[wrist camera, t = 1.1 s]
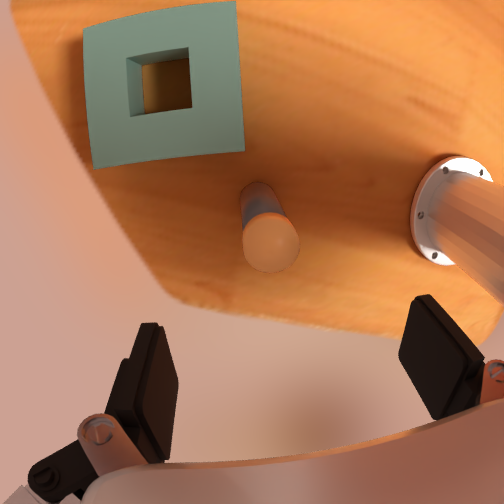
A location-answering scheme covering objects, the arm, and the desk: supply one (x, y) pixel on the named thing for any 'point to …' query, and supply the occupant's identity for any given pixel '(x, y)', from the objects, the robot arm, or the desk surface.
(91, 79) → the socket block
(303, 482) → the robot arm
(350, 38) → the desk surface
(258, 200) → the round peg
